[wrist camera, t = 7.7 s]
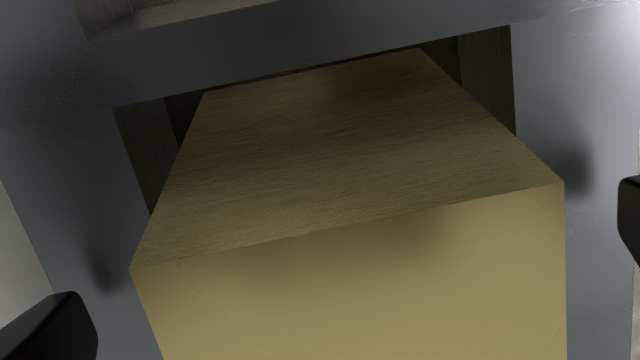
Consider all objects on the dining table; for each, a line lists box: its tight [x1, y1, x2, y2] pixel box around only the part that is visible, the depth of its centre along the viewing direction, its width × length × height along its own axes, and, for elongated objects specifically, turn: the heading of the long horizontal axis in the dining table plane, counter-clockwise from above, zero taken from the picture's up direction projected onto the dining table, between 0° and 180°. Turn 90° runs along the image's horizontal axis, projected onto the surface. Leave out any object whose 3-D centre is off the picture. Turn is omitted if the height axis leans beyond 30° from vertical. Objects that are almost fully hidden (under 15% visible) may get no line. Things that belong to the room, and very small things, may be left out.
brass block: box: [128, 48, 567, 360], centre depth 10 cm, size 4×4×6 cm
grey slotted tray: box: [0, 0, 640, 360], centre depth 11 cm, size 10×24×3 cm, turn 11°
